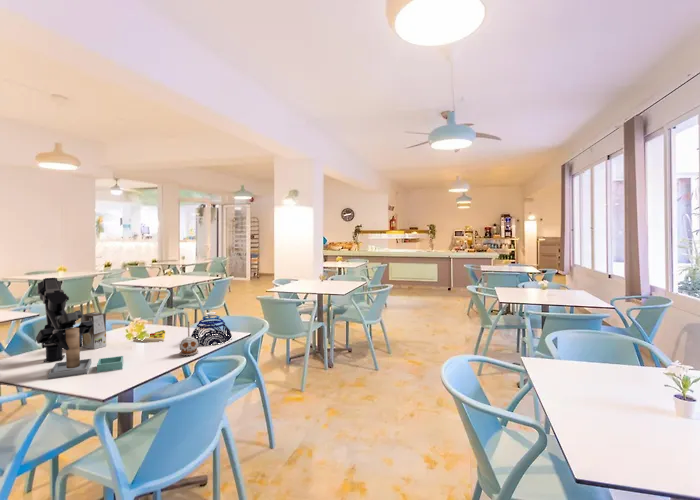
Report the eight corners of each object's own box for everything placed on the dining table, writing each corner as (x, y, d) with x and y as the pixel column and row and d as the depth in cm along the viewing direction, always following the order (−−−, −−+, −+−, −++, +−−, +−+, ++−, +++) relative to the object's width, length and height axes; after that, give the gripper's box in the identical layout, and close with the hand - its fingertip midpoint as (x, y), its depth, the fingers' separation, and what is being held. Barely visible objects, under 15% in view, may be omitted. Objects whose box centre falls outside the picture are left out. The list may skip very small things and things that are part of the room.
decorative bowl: (193, 348, 185) (192, 319, 184) (188, 338, 202) (187, 311, 202) (235, 342, 195) (235, 314, 194) (226, 333, 212) (226, 308, 211)
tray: (56, 367, 157) (56, 362, 157) (91, 363, 163) (91, 358, 163) (48, 379, 145) (48, 373, 145) (86, 373, 150) (86, 368, 150)
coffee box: (107, 345, 188) (106, 313, 187) (94, 349, 182) (93, 316, 181) (94, 343, 191) (93, 312, 191) (81, 347, 185) (80, 314, 185)
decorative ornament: (180, 357, 171) (179, 324, 170) (179, 352, 177) (178, 320, 177) (199, 355, 174) (198, 322, 174) (197, 350, 181) (196, 319, 180)
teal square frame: (99, 365, 159) (99, 358, 159) (123, 362, 163) (123, 355, 163) (97, 372, 152) (96, 365, 152) (122, 369, 156) (121, 361, 156)
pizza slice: (131, 343, 194) (131, 337, 194) (151, 333, 215) (151, 327, 215) (162, 343, 195) (161, 337, 194) (179, 333, 215) (179, 327, 215)
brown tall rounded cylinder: (68, 365, 154) (68, 328, 153) (81, 364, 155) (80, 327, 154) (64, 368, 150) (63, 331, 149) (77, 367, 151) (76, 330, 150)
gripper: (38, 309, 145) (54, 341, 140) (91, 301, 161) (107, 330, 157) (28, 327, 149) (44, 359, 144) (81, 317, 165) (96, 346, 161)
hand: (74, 348), depth 151 cm, fingers closed on brown tall rounded cylinder, 4 cm apart
